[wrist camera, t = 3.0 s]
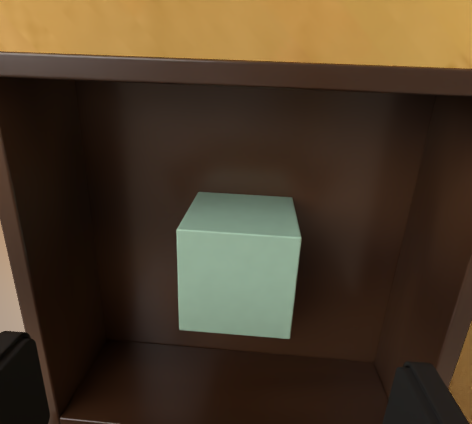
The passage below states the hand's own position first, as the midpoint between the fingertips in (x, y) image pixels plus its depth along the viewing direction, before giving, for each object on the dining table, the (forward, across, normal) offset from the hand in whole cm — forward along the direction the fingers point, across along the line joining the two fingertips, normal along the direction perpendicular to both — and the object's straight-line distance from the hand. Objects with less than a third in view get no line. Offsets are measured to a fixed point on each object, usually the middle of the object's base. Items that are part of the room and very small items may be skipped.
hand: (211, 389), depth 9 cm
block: (+9, 0, 0) cm, 9 cm away
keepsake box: (+9, 0, 0) cm, 9 cm away
